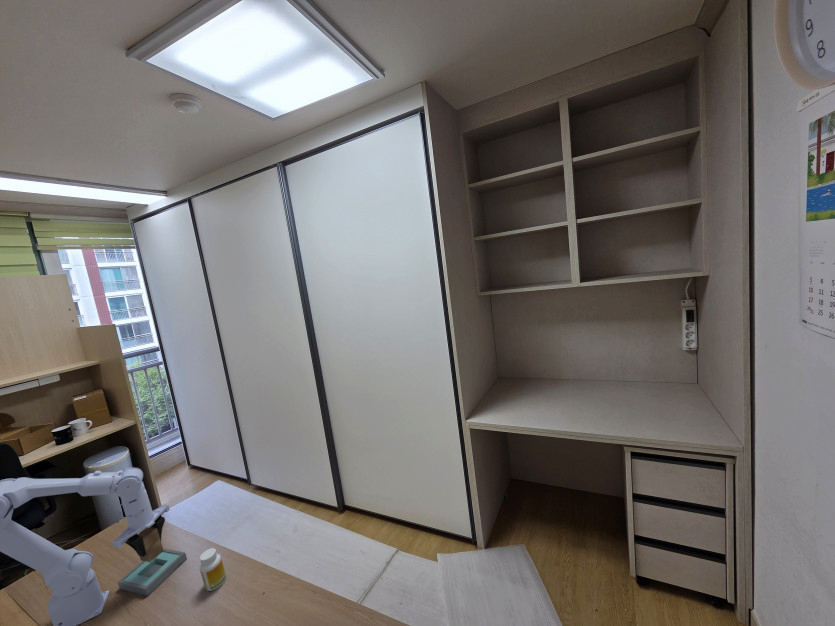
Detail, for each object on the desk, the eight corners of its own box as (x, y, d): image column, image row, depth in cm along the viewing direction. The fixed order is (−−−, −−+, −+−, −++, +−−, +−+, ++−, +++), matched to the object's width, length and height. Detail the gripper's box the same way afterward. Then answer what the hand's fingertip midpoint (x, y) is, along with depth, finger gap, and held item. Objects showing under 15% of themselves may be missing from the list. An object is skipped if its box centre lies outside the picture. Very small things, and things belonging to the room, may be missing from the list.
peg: (150, 562, 99) (142, 539, 97) (140, 560, 100) (133, 537, 99) (163, 550, 102) (156, 528, 101) (154, 548, 104) (147, 526, 102)
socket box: (147, 596, 95) (145, 589, 95) (119, 589, 99) (117, 582, 99) (187, 559, 107) (185, 552, 106) (160, 554, 110) (158, 547, 110)
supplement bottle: (230, 573, 99) (222, 545, 98) (218, 591, 94) (209, 562, 92) (214, 574, 100) (206, 546, 98) (200, 592, 94) (192, 562, 93)
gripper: (119, 530, 91) (133, 572, 93) (171, 493, 104) (182, 530, 106) (102, 527, 93) (116, 568, 95) (156, 491, 106) (167, 528, 109)
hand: (150, 548), depth 101 cm, fingers closed on peg, 4 cm apart
